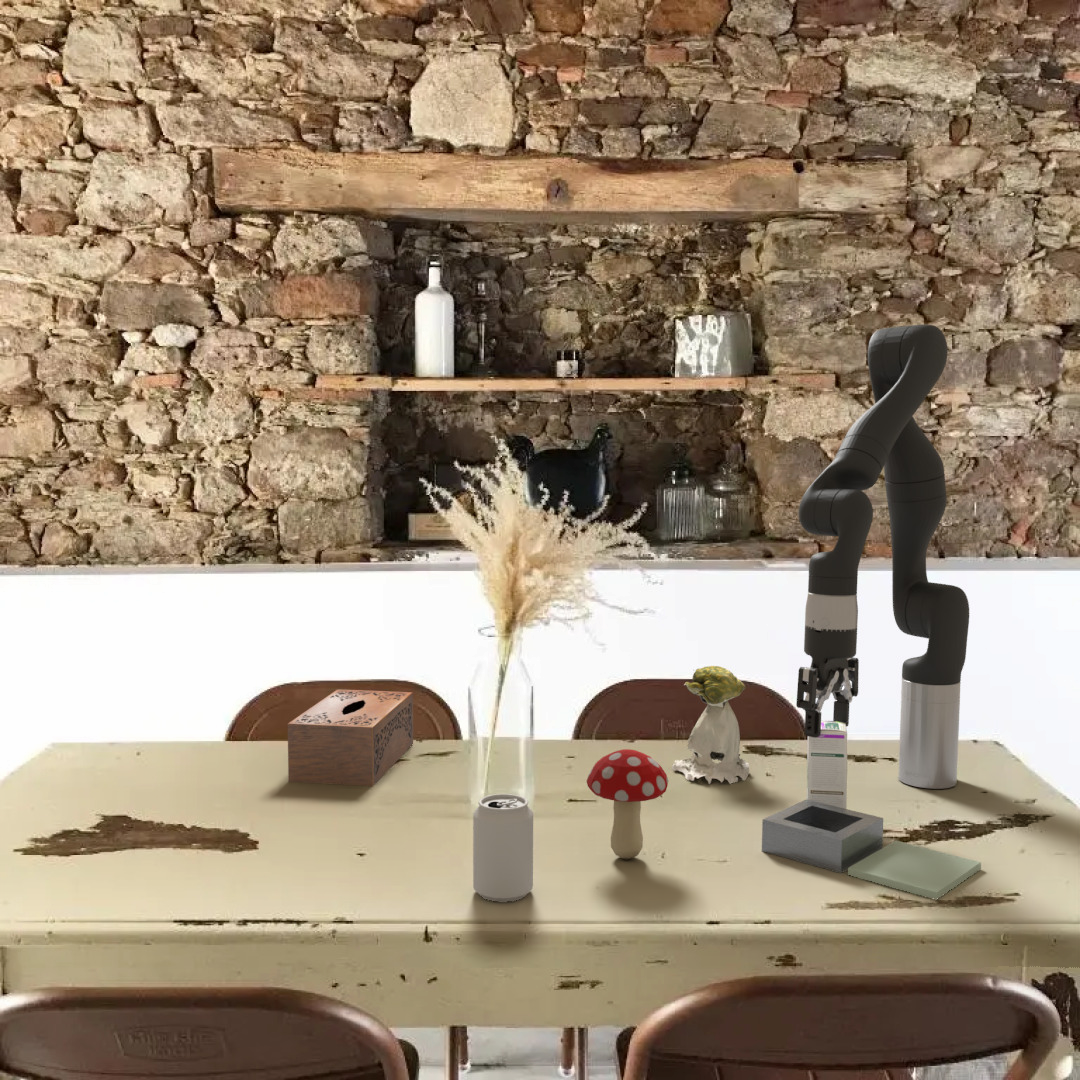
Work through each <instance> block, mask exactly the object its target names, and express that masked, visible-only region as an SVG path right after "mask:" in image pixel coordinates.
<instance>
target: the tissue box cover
mask: <svg viewBox="0 0 1080 1080" xmlns="http://www.w3.org/2000/svg"><path fill="white" fill-rule="evenodd" d="M412 744H413V745H414V692H412V691H411V692H410V691H409V692H408V691H391V690H390V691H388V690H386V691H385V690H361V689H358V690H357V689H338V688H337V689H335V691H333V692H331V693H330V694H328V695H327V696H326V697H324V698H323V699H321V700H320V701H318V702H317V703H315V705H313V706H311V707H309V708H308V709H307V710H306V711H304V712H302V713H301V714H300V715H298V716H297V717H295V718H294V719H293V720H291V721H289V722H288V723H287V763H288V764H287V765H288V766H287V767H288V768H287V773H288V783H289V782H291V783H311V784H328V785H348V786H352V785H353V786H368V787H369V786H370V787H374V786H375V785H376V784H377V783H378V782H379V781H380V779H382V778H383V776H384V775H385V774H386V773H387V772H388V771H389V770H390V769H391V768H392V767H393V766H394V765H395V763H396V762H398V761H399V760H400V759H401V758H402V756H404V754H405V753H406V752H408V750H409V749H410V748H411V747H412V746H413V745H412ZM411 745H412V746H411ZM410 746H411V747H410ZM409 747H410V748H409ZM408 748H409V749H408Z"/></svg>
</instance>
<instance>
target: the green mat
mask: <svg viewBox="0 0 1080 1080" xmlns="http://www.w3.org/2000/svg"><path fill="white" fill-rule="evenodd" d="M980 869H982V862H981V861H978V860H974V859H971V858H966V857H962V856H959V855H955V854H950V853H948V852H947V853H946V852H942V851H938V850H934V849H930V848H927V847H923V846H918V845H915V844H910V843H908V842H907V843H906V842H903V841H899V840H895V841H893V842H891V843H889V844H887V845H885V846H883V847H882V849H880V850H878V851H877V852H875V853H873V854H871V855H870V856H868V857H866V858H864V859H863V860H861V861H859V862H857V863H856V864H854V865H852V866H850V867H849V868H848V869H847V876H849V875H851V876H850V877H852V876H854V877H853V878H856V877H858V878H857V879H859V878H861V879H860V880H863V879H865V880H864V881H866V880H869V881H868V882H870V881H872V882H871V883H874V882H875V883H874V884H877V883H879V884H878V885H881V884H882V886H884V885H886V886H885V887H888V886H890V887H889V888H891V887H892V888H891V889H895V888H896V890H898V889H900V890H899V891H902V890H904V891H903V892H905V891H907V892H906V893H909V892H910V894H913V893H914V894H913V895H916V894H918V895H917V896H920V895H922V896H921V897H923V896H926V897H925V898H927V897H930V898H934V899H937V898H939V897H940V898H942V897H943V896H944V895H943V894H945V893H946V892H948V891H949V890H950V891H952V890H953V889H955V888H956V887H958V886H959V885H960V883H961V882H962V883H963V882H965V881H967V878H968V877H969V878H971V877H972V876H973V875H975V874H976V873H978V872H979V871H981V870H980ZM977 871H978V872H977ZM974 873H975V874H974ZM970 876H971V877H970ZM969 878H968V879H969ZM964 880H965V881H964ZM962 883H961V884H962ZM958 884H959V885H958ZM957 885H958V886H957ZM954 887H955V888H954ZM951 889H952V890H951ZM950 891H949V892H950ZM949 892H948V893H949ZM946 894H947V893H946ZM946 894H945V895H946ZM942 895H943V896H942ZM941 896H942V897H941ZM930 898H929V899H930ZM940 898H939V899H940ZM934 899H933V900H934Z"/></svg>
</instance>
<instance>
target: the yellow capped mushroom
mask: <svg viewBox="0 0 1080 1080" xmlns="http://www.w3.org/2000/svg"><path fill="white" fill-rule="evenodd" d="M691 679H692V682H689V681H686V682H685V683H684V684H683V686H685V687H686V688H687V690H688V691H689V692H690V693H692V694H693V695H695V696H697V697H700V700H701V701H702V702H703V703H704V704H707V705H706V707H705V709H703V711H702V713H701V715H700V716H699V717H698V720H697V722H696V723H695V726H694V727H693V728H692V730H691V733H690V735H689V738H688V739H687V745H686V746H687V750H690V751H691V752H692V755H691V756H690V757H686V758H682V759H681V760H679V759H675V760H674V762H673V764H672V767H671V771H679V772H682V773H683V775H684V777H685V778H686V779H687V780H688V781H692V782H694V781H695V778H696V779H700V778H701V777H704V779H705V780H706V781H707V783H708V785H710V784H711V783H712V779H713V780H714V779H716V780H718V781H720V783H723V782H724V780H727V781H728V784H730V785H732V784H731V783H733V784H736V783H737V782H738V781H739V777H740V778H741V781H746V780H747V778H748V776H749V771H750V763H749V762H746V761H745V759H743V758H741V757H740V756H741V754H740V746H741V738H740V737H741V736H740V735H741V734H740V726H739V722H738V719H737V716H736V715H735V712H734V710H733V709H732V707H731V705H730V703H729V700H730V701H731V700H732V699H735V698H736V697H739V696H740V695H741V694H742V692H743V691H744V690H746V685H745V684H744V682H742V681H741V680H740V679H738V678H737V676H736V675H734V673H733V672H732V671H730V670H729V669H727V668H725V667H723V666H720V665H719V666H717V665H709V666H703V667H701V668H697V669H696V670H694V672H693V674H692V678H691ZM716 760H717V761H720V762H718V763H717V762H715V761H716ZM737 776H739V777H737ZM686 779H685V780H686ZM687 780H686V781H687ZM735 782H736V783H735Z"/></svg>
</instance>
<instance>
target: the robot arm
mask: <svg viewBox="0 0 1080 1080" xmlns="http://www.w3.org/2000/svg"><path fill="white" fill-rule="evenodd" d="M948 352H949V351H948V342H947V338H946V336H945V335H944V333H943V331H942V329H940V328H939V327H938V326H936V325H933V324H925V323H924V324H914V325H903V326H895V327H884V328H880V329H877V330H875V331H874V332H873V334H872V335H871V337H870V339H869V342H868V346H867V365H868V372H869V378H870V379H869V380H870V385H871V389H872V394H873V399H874V404H873V405H872V406H871V407H870V408H869V409H867V410H866V411H865V412H863V414H861V416H860V417H858V418H857V419H856V421H855V422H854V423H853V424H852V425H851V426H850V428H849V429H848V431H847V433H846V435H844V436H845V437H844V438H843V440H842V442H841V444H840V446H839V449H838V450H837V452H836V454H835V457H834V459H833V460H832V461H831V463H829V465H828V466H826V468H824V470H823V471H822V472H821V473H820V474H819V476H818V477H817V478H816V479H814V481H813V482H812V483H811V484H810V485H809V486H808V488H807V489H806V491H805V492H804V494H803V495H802V497H801V501H800V502H799V506H798V520H799V523H800V525H801V527H802V528H803V529H804V530H805V532H807V533H809V534H812V535H816V536H824V537H825V536H827V537H838V538H837V541H836V544H835V545H834V547H833V549H832V550H829V551H828V550H827V551H821V552H817V553H814V554H813V555H812V556H811V557H810V560H809V563H808V583H807V584H808V586H807V588H808V589H807V599H806V603H805V613H804V614H805V615H804V616H805V617H804V639H803V640H804V641H803V652H804V653H805V655H807V656H810V657H811V664H810V667H806V666H805V667H803V666H800V667H799V669H798V674H797V675H798V676H797V677H798V678H797V687H796V688H797V690H796V707H797V709H798V708H799V709H802V710H803V711H804V713H805V714H804V716H805V717H804V735H806V736H807V737H808V736H810V737H815V738H816V737H819V736H820V735H821V721H822V712H821V711H822V708H823V706H824V703H825V701H828V700H829V698H830V696H831V694H832V696H833V699H834V700H835V701H833V719H832V721H838V722H844V723H846V728H848V726H849V723H850V722H849V721H850V703H852V701H853V697H857V696H858V695H859V667H860V666H859V663H860V661H859V658H858V657H855V656H856V655H857V641H858V640H857V639H858V620H859V619H858V618H859V615H858V614H859V608H858V607H859V606H858V573H859V572H858V570H859V565H860V562H861V561H860V560H861V559H862V555H863V551H864V547H865V546H866V545H865V544H866V541H867V538H868V536H869V532H870V529H871V526H872V522H873V518H874V510H873V504H872V501H871V499H870V497H869V496H868V495H867V494H866V493H865V492H864V491H866V490H869V489H871V488H872V487H873V486H874V485H876V482H877V481H878V479H879V478H880V476H881V473H882V471H883V470H884V471H883V472H884V473H883V474H884V483H885V493H886V503H887V509H888V516H889V525H890V526H889V527H890V528H889V529H890V538H891V539H890V541H891V557H892V558H891V559H892V560H891V561H892V564H891V565H892V568H891V569H892V571H891V573H892V589H891V590H892V594H891V595H892V611H893V617H894V621H895V623H896V626H897V628H898V629H899V630H900V632H902V633H904V634H906V635H909V636H913V637H916V638H917V637H918V638H922V639H923V638H924V639H928V641H927V642H928V643H927V648H926V652H925V653H924V654H922V655H919V656H916V657H914V656H913V657H910V658H907V659H905V660H904V661H903V663H902V667H901V690H900V691H901V692H900V693H901V694H900V695H901V696H900V698H901V699H900V721H899V722H900V723H899V746H898V747H899V751H898V777H897V778H898V780H899V781H900V782H901V783H904V784H906V785H909V786H913V787H918V788H921V789H922V788H923V789H935V790H937V789H938V790H940V789H949V788H953V787H955V786H956V785H957V779H958V776H957V775H958V760H959V759H958V757H959V755H958V754H959V731H960V730H959V729H960V708H961V707H960V706H961V703H960V702H961V678H962V671H963V669H964V666H965V663H966V658H967V657H966V656H967V646H968V635H969V624H970V604H969V603H970V602H969V599H968V596H967V594H966V592H965V591H964V590H963V589H962V588H961V587H959V586H957V585H956V586H955V585H952V584H951V585H950V584H946V583H938V582H937V583H936V582H930V581H929V578H928V575H927V573H928V572H927V552H928V547H929V544H930V541H931V540H932V538H933V536H934V533H935V532H936V530H937V529H938V527H939V525H940V523H941V520H942V518H943V516H944V514H945V510H946V507H947V501H948V498H947V496H948V495H947V488H946V487H947V486H946V476H945V474H946V473H945V468H944V462H943V460H942V458H941V456H940V454H939V452H938V451H937V448H935V446H934V445H933V443H932V442H931V441H930V439H929V438H928V437H927V435H926V434H925V432H924V431H923V430H922V429H921V427H920V426H919V423H917V421H916V420H915V418H914V415H915V413H916V412H917V411H918V409H919V408H920V406H921V405H922V404H923V402H924V400H926V398H927V396H929V394H930V392H931V391H932V390H933V388H934V387H935V385H936V384H937V382H938V381H939V379H940V378H941V376H942V374H943V372H944V370H945V367H946V364H947V360H948ZM805 694H806V695H805Z"/></svg>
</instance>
